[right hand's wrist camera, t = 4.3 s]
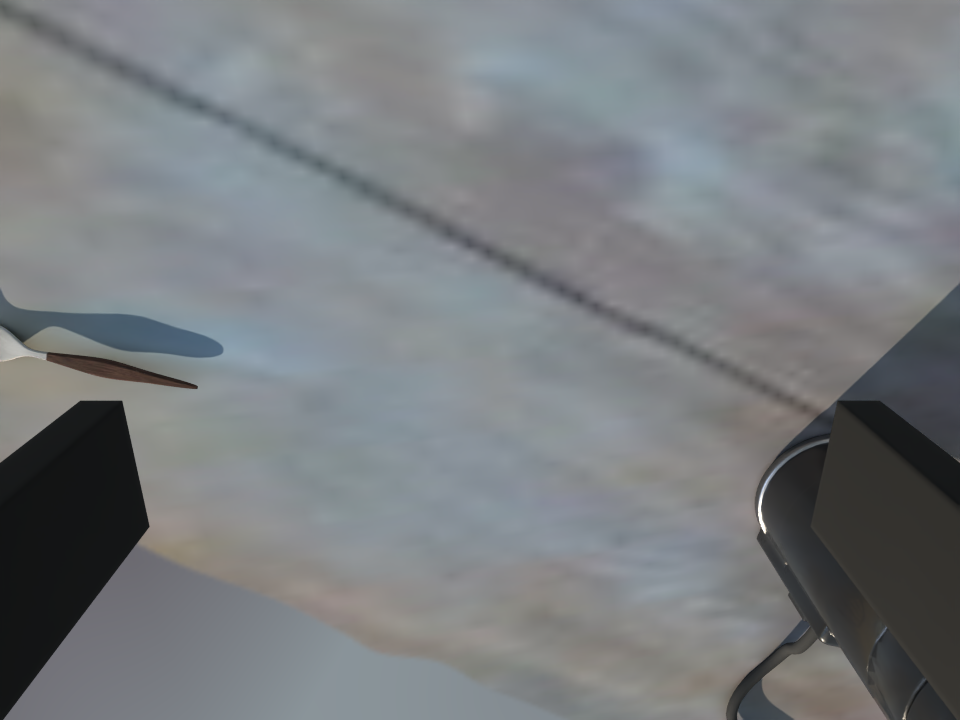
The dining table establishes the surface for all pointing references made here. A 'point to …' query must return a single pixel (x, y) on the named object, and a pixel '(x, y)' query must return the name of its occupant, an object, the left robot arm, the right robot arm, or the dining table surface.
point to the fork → (85, 363)
